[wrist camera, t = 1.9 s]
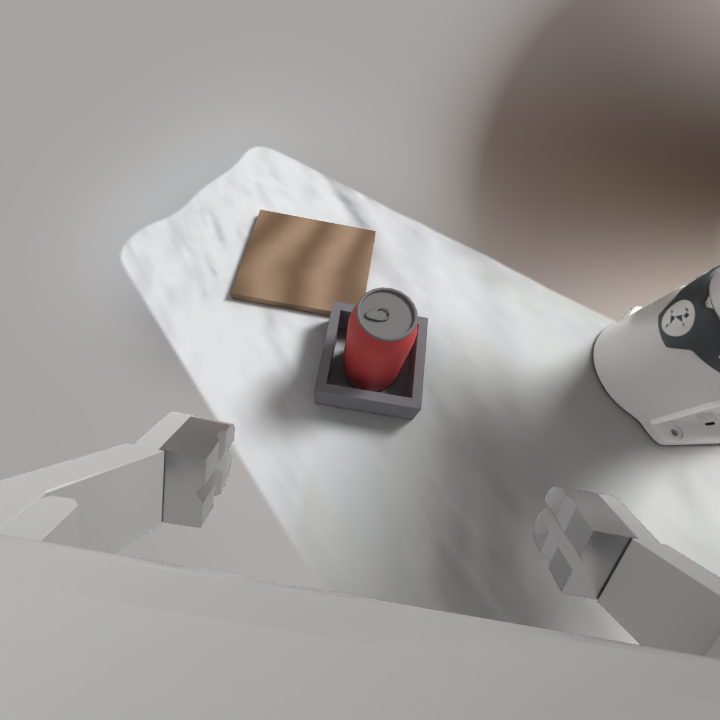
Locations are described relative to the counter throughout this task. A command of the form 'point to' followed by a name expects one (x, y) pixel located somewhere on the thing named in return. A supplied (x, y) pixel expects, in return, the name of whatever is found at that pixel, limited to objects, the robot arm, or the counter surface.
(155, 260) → the counter surface
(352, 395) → the can collar
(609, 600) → the robot arm
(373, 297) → the beer can
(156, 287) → the counter surface
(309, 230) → the walnut board
